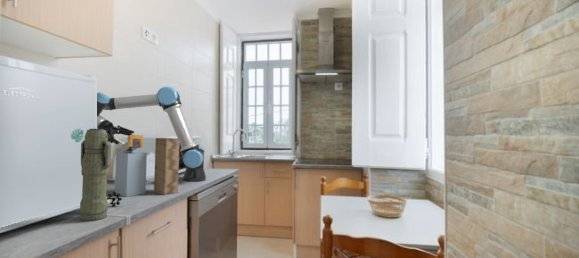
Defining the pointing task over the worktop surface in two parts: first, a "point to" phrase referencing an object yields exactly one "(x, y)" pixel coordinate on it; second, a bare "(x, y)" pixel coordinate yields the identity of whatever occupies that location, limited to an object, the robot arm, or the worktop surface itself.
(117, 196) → the valve
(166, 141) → the wooden upright block
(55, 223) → the worktop surface
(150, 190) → the worktop surface
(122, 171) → the grey upright pillar
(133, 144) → the lockout bar
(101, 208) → the thermos
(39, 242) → the worktop surface
